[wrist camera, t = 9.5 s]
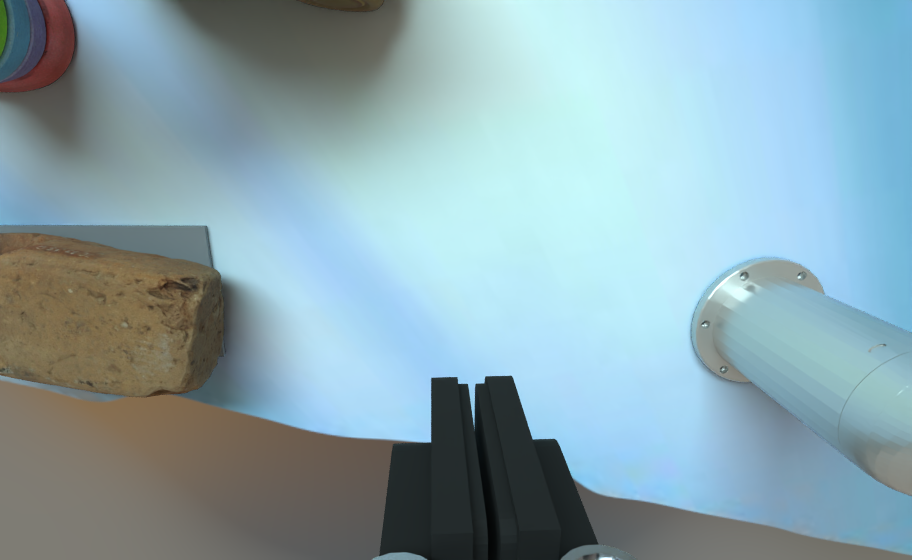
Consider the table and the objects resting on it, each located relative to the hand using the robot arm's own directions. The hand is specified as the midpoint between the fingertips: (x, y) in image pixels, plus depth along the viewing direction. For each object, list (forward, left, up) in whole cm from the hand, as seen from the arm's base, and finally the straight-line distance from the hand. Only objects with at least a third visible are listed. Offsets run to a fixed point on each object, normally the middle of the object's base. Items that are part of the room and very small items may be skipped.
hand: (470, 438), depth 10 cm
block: (+18, +10, -28) cm, 35 cm away
